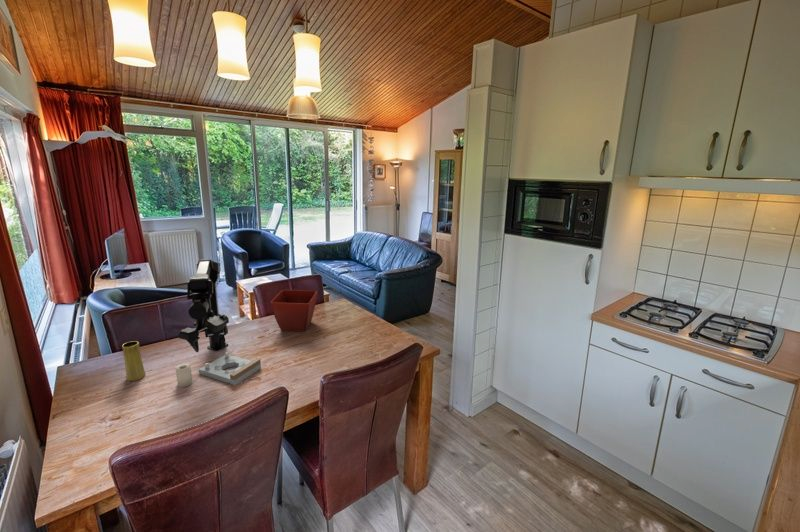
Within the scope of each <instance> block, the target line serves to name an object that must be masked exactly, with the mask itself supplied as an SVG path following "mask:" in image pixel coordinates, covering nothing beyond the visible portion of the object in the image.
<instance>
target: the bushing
mask: <svg viewBox="0 0 800 532" xmlns="http://www.w3.org/2000/svg"><path fill="white" fill-rule="evenodd" d="M174 369H175V374H176V375H175V376H176V382H177V386H178V387H180V388H184V387H188V386H190V385H192V384H193V382H194V381H193V374H192V367H191V364H190V363H182V364H179V365H177V366H175V368H174Z"/></svg>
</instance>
